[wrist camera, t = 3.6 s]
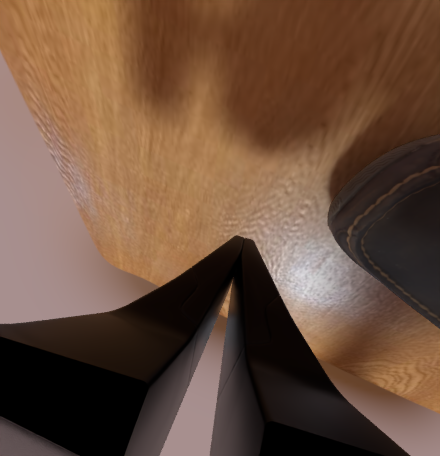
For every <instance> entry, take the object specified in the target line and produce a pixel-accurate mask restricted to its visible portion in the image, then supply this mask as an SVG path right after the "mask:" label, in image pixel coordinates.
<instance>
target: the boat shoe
mask: <svg viewBox="0 0 440 456" xmlns="http://www.w3.org/2000/svg"><path fill="white" fill-rule="evenodd" d="M328 226H329V229H330V230H331V232H332V234H333V236H334V238H335V240H336V242H337V243H338V244H339V246H340V247H341V249H342V250H343V251H344V252H345V253H346V254H347V255H348V256H349V257H350V258H351V259H352V260H353V261H354V262H355V263H356V264H358V265H359V266H360V267H361V268H363V269H364V270H365V271H367V272H368V273H369V274H371V275H372V276H373V277H374V278H376V279H377V280H379V281H380V282H381V283H382V284H384V285H385V286H386V287H387V288H388V289H389V290H391V291H392V292H393V293H395V294H396V295H397V296H398V297H399V298H401V299H402V300H403V301H404V302H406V303H407V304H408V305H409V306H411V307H412V308H413V309H415V310H416V311H417V312H419V313H420V314H421V315H423V316H424V317H425V318H426V319H428V320H429V321H430V322H432V323H433V324H434V325H436V326H437V327H438V328H439V329H440V134H439V135H434V136H430V137H427V138H422V139H418V140H415V141H412V142H409V143H407V144H404V145H402V146H400V147H397V148H395V149H393V150H391V151H389V152H388V153H386V154H384V155H382V156H381V157H379V158H377V159H376V160H374V161H373V162H372V163H370V164H369V165H368V166H366V167H365V168H364V169H362V170H361V171H360V172H359V173H358V174H356V175H355V176H354V177H353V178H352V179H351V180H350V181H349V182H348V183H347V184H346V185H345V186H344V187H343V188H342V189H341V191H340V192H339V194H338V195H337V196H336V197H335V198H334V200H333V202H332V204H331V206H330V208H329V212H328Z"/></svg>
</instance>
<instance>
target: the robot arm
mask: <svg viewBox="0 0 440 456" xmlns="http://www.w3.org/2000/svg"><path fill="white" fill-rule="evenodd" d="M233 277H234V278H233ZM232 281H233V282H232ZM231 284H232V288H231V296H230V304H229V311H228V319H227V327H226V334H225V342H224V350H223V357H222V365H221V374H220V380H219V388H218V396H217V403H216V411H215V419H214V426H213V434H212V442H211V450H210V456H410V455H409V454H408V453H407V452H405V451H404V450H403V449H402V448H401V447H399V446H398V445H397V444H396V443H395V442H394V441H393V440H392V439H390V438H389V437H388V436H387V435H386V434H385V433H384V432H382V431H381V430H380V429H379V428H378V427H377V426H375V425H374V424H373V423H372V422H371V421H370V420H369V419H367V418H366V417H365V416H364V415H363V414H361V413H360V412H359V411H358V410H357V409H356V408H355V407H354V406H353V405H351V404H350V403H349V402H348V401H347V400H346V399H345V398H344V397H343V396H342V394H341V393H340V392H339V391H338V390H337V388H336V387H335V386H334V384H333V383H332V382H331V380H330V379H329V377H328V376H327V374H326V373H325V371H324V370H323V368H322V366H321V365H320V363H319V362H318V360H317V358H316V357H315V355H314V353H313V352H312V350H311V349H310V347H309V345H308V344H307V342H306V341H305V339H304V337H303V336H302V334H301V332H300V331H299V329H298V327H297V326H296V324H295V322H294V321H293V319H292V317H291V315H290V313H289V312H288V310H287V308H286V306H285V304H284V302H283V300H282V298H281V296H279V295H280V294H279V292H278V290H277V288H276V286H275V284H274V281H273V279H272V277H271V275H270V273H269V271H268V269H267V267H266V265H265V263H264V261H263V259H262V257H261V255H260V253H259V251H258V249H257V247H256V245H255V242H254V241H253V240H251V239H247V238H245V239H244V237H240V236H237V235H236V236H234V237H233V238H232V239H230V240H229V241H227V242H226V243H225V244H223V245H222V246H220V247H219V248H218V249H216V250H215V251H213V252H212V253H211V254H209V255H208V256H206V257H205V258H204V259H202V260H201V261H199V262H198V263H197V264H195V265H194V266H192V268H190V269H188V270H187V271H185V272H184V273H182V274H181V275H179V276H178V277H176V278H175V279H173V280H171V281H170V282H168V283H166V284H165V285H163V286H161V287H159V288H158V289H156V290H154V291H152V292H150V293H148V294H147V295H145V296H143V297H141V298H139V299H138V300H136V301H134V302H132V303H130V304H129V305H126V306H124V307H122V308H119V309H116V310H113V311H109V312H105V313H97V314H89V315H81V316H74V317H66V318H58V319H50V320H42V321H34V322H26V323H16V324H0V456H159V455H160V453H161V450H162V448H163V445H164V443H165V441H166V439H167V436H168V434H169V431H170V429H171V427H172V424H173V422H174V420H175V417H176V415H177V412H178V410H179V407H180V405H181V403H182V400H183V398H184V396H185V393H186V391H187V388H188V386H189V384H190V381H191V379H192V377H193V374H194V372H195V370H196V367H197V365H198V362H199V360H200V358H201V355H202V353H203V351H204V348H205V346H206V343H207V341H208V339H209V336H210V333H211V332H212V329H213V327H214V324H215V322H216V320H217V317H218V315H219V313H220V310H221V308H222V305H223V303H224V301H225V298H226V296H227V294H228V291H229V289H230V286H231Z"/></svg>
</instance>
